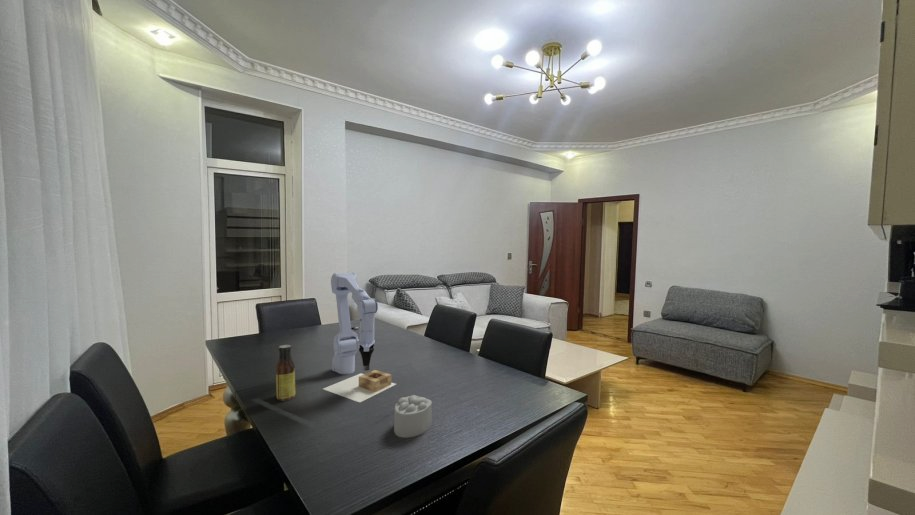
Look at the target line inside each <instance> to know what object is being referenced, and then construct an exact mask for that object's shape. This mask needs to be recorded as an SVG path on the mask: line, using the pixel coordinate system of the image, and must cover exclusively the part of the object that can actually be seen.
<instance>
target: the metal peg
mask: <svg viewBox="0 0 915 515" xmlns="http://www.w3.org/2000/svg"><path fill="white" fill-rule="evenodd" d="M361 369H362V371H369V370H370V369H371V363H370V364H369V366H363V365H362V368H361Z"/></svg>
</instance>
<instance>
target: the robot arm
mask: <svg viewBox="0 0 915 515" xmlns="http://www.w3.org/2000/svg"><path fill="white" fill-rule="evenodd" d="M330 286H331V292H332V293H333V294H334V295H335V298H336V299H335V300H336V308H337V309H336V310H337V318H338V319H337V320H338V326H339V327H338V328H339V332H337V334H336V335H335V336H334V338H333V344H332V345H333V352H334V354H333V355H332V356H333V357H332V363H331V366H332V368H331V369H332V370H331V371H333V372H336V373H338V374H339V375H349V374H354V372H355V369H356V361H355V360H356V359H355V358H356V354H357V352H358V351H359V353H360V356H361V361H362V367H363V366H369V364H370V365H371V358H372V355H373V353H374V350H375V348H374V347H375V342H376V340H375V320H376V316H375V315H376V313H377V312H378V310H379V305H378V301H377V299H376V298H375V297H374V298H373V297H370V295H369V294H368V293H367V291H366V290H365V289H364V288H360V286H359V285H358V277H357V274H356V273H355V272H347V273H344V272H343V273H341V272H340V273H336V272H334V273H333V274H332V275H331V278H330ZM350 293H351V298H352V300H353V302H354V303H355V304H356V308H357V309H356V310H357V313H358V314H357V315H358V316H357V317H358V319H359V330H358V331H359V335H358V334H357V332H356V331H353V330H352V324H351V315H350V307H349V305H350V304H349V298H348V295H349V294H350ZM358 336H359V337H358Z"/></svg>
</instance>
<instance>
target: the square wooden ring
mask: <svg viewBox="0 0 915 515" xmlns="http://www.w3.org/2000/svg"><path fill="white" fill-rule="evenodd" d="M363 374H364V375H361V376H359V387H361V388H364V389H368V390H371V391H374V392H377V391H379V390H381V389H383V388H385V387H387V386H389V385H391V382H392V374H391V373H389V372H388V373H387V372H383V371H380V370H376V369H374V370H372V371H369V372H366V373H363Z"/></svg>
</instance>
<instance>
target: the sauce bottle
mask: <svg viewBox="0 0 915 515" xmlns="http://www.w3.org/2000/svg"><path fill="white" fill-rule="evenodd" d="M291 350H292V345H291V344H283V345H279V346H278V352H279V355H278V356H279V357H278V358H279V359H278V361H277V363H276V366H275V385H276V386H275V388H276V399H277V400H278V401H281V402H283V401H285V402H286V401H289V400H292V399H294V398H295V397H296V367H295V363H294V361H293V358H292V355H291V354H292V352H291Z"/></svg>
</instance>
